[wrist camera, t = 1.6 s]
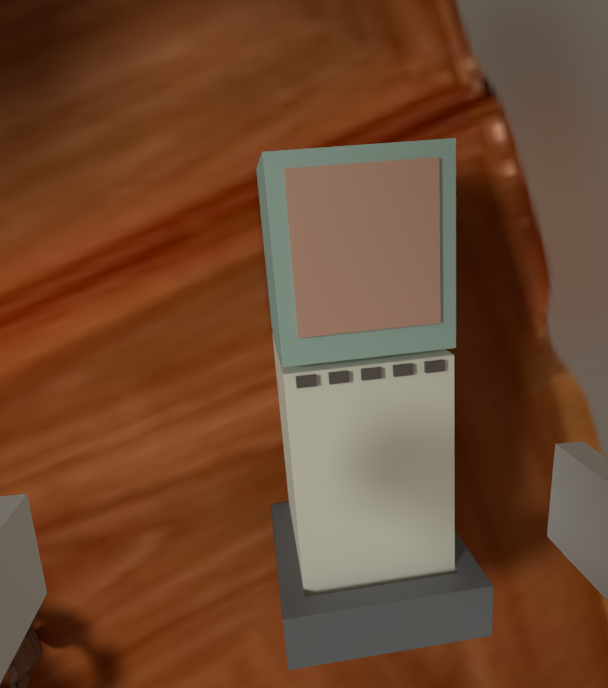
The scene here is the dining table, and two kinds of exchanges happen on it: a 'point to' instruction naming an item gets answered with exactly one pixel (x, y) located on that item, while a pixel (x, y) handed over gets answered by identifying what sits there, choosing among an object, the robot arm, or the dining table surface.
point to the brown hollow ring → (25, 660)
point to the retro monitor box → (360, 249)
